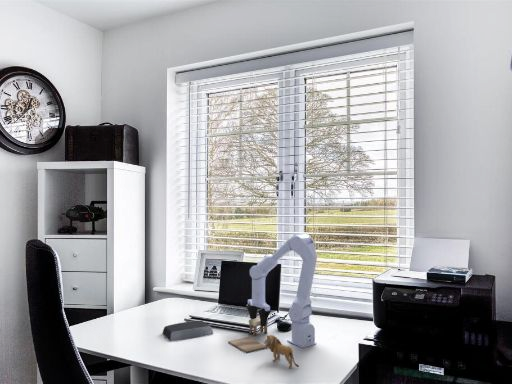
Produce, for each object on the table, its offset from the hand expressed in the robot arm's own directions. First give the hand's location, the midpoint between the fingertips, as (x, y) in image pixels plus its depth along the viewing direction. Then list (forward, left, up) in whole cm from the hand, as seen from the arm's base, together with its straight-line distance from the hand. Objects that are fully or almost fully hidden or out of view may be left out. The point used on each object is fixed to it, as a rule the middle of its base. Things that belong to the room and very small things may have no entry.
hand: (258, 323), depth 189 cm
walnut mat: (-10, +12, -4) cm, 16 cm away
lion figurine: (-32, +12, -5) cm, 34 cm away
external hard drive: (+17, +26, -5) cm, 31 cm away
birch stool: (0, 0, -4) cm, 4 cm away
